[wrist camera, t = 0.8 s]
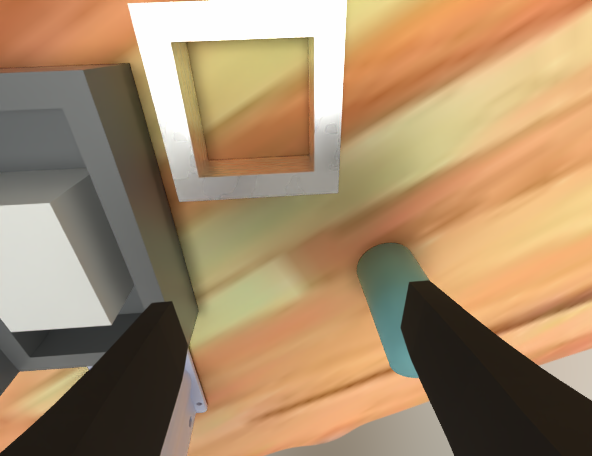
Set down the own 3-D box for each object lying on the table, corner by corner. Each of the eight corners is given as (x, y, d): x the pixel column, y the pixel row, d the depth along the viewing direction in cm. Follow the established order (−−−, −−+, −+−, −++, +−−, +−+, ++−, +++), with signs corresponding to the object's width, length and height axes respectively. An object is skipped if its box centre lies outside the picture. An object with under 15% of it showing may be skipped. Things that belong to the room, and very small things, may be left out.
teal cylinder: (408, 286, 22) (457, 374, 16) (354, 289, 22) (384, 380, 16) (418, 241, 20) (478, 323, 14) (358, 244, 20) (394, 329, 14)
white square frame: (330, 174, 17) (338, 192, 15) (191, 182, 17) (179, 201, 15) (335, 3, 13) (346, -4, 11) (151, 9, 13) (127, 3, 11)
